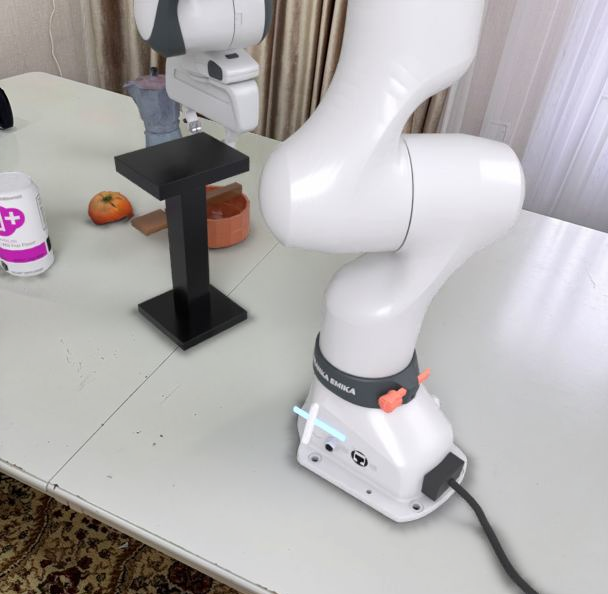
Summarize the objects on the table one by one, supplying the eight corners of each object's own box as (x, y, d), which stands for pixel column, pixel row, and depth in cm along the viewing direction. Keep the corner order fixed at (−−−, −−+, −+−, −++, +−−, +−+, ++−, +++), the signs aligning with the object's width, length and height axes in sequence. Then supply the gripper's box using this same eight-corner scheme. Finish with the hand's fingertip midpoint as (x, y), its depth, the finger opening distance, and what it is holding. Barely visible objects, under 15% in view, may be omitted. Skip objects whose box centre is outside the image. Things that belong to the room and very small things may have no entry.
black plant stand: (252, 316, 98) (254, 159, 81) (178, 354, 90) (163, 189, 73) (205, 281, 104) (198, 128, 87) (132, 314, 96) (109, 153, 79)
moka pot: (130, 155, 138) (118, 60, 124) (199, 150, 142) (195, 58, 128) (135, 174, 131) (123, 76, 118) (207, 169, 135) (204, 73, 122)
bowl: (263, 234, 116) (264, 205, 112) (207, 258, 109) (205, 228, 105) (220, 207, 123) (219, 178, 119) (163, 227, 116) (161, 198, 112)
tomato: (74, 213, 114) (91, 177, 114) (94, 222, 121) (110, 188, 121) (109, 231, 113) (127, 195, 112) (127, 239, 120) (144, 205, 119)
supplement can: (39, 282, 100) (17, 198, 91) (-8, 274, 101) (-35, 189, 91) (64, 256, 107) (46, 174, 97) (19, 248, 107) (-3, 166, 98)
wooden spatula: (247, 196, 114) (247, 187, 113) (146, 236, 102) (145, 226, 101) (231, 188, 117) (231, 179, 115) (131, 225, 104) (130, 216, 103)
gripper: (152, 39, 99) (159, 125, 108) (233, 76, 88) (234, 167, 98) (185, 34, 102) (189, 117, 112) (266, 68, 92) (264, 157, 101)
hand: (211, 141), depth 104 cm, fingers open, 8 cm apart
